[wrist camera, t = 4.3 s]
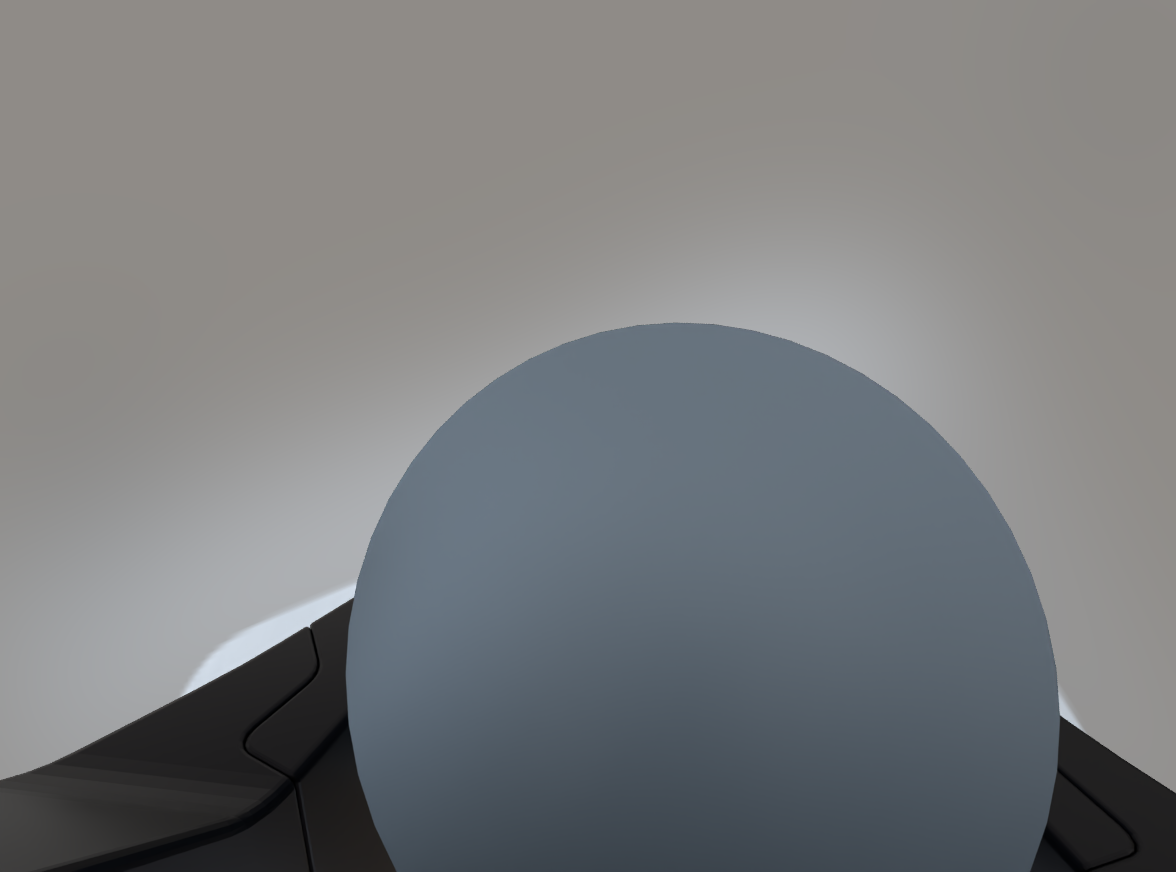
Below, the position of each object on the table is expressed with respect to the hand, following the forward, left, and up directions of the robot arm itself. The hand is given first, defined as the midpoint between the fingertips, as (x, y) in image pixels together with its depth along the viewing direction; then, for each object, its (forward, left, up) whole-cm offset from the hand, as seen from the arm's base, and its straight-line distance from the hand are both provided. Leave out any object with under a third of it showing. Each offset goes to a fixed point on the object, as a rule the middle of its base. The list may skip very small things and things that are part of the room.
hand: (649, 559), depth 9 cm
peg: (-1, 0, -7) cm, 7 cm away
